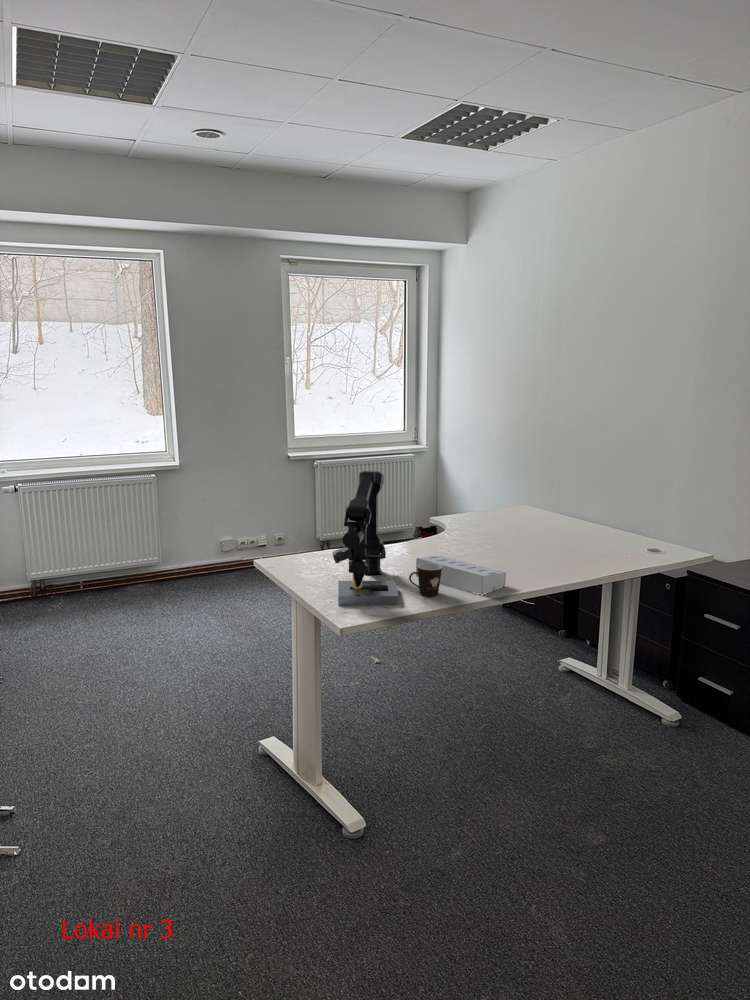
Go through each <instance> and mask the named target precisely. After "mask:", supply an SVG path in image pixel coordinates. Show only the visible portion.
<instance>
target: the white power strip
mask: <svg viewBox="0 0 750 1000" xmlns="http://www.w3.org/2000/svg"><path fill="white" fill-rule="evenodd" d="M415 561H416V563H415V564H416V565H415V567H416V569H415V572H418V569H417V565H418V564H421V563H436V564H439V565H441V566H442V572H441V578H440V584H441V585H444V586H448V587H449V588H450V587H452V588H454V589H458V590H460V589H461V591H464V590H466V591H465V592H467V591H470V592H469V593H471V592H475V593H479V594H484V593H487V592H490V591H492V590H495V589H497V588H500V587H502V588H504V587H503V586H504V585H505V586H506V575H507V574H506V573H507V572H505V571H503V570H502V571H501V570H497V569H494V568H490V567H486V566H482V565H479V564H478V565H477V564H475V563H470V562H467V561H463V560H459V559H455V558H452V557H448V556H443V555H434V556H425V557H424V556H422V557H416V560H415ZM415 576H416V577H417V578H418V575H417V574H415ZM500 589H501V588H500ZM497 590H498V589H497ZM495 591H496V590H495ZM490 593H491V592H490Z"/></svg>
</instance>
